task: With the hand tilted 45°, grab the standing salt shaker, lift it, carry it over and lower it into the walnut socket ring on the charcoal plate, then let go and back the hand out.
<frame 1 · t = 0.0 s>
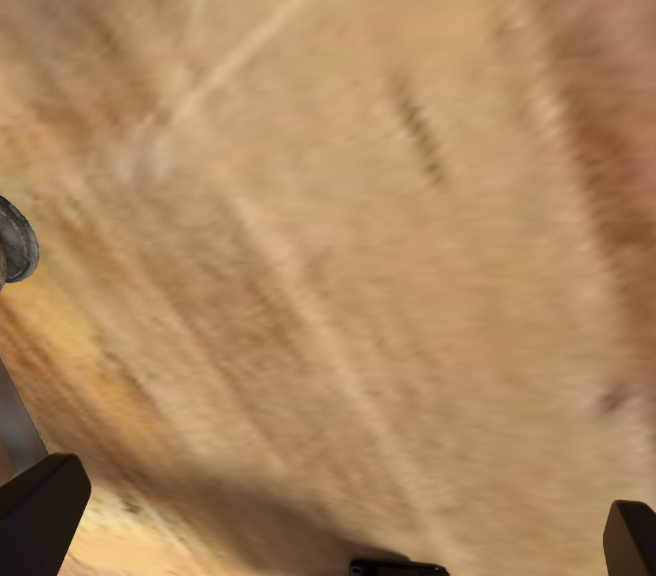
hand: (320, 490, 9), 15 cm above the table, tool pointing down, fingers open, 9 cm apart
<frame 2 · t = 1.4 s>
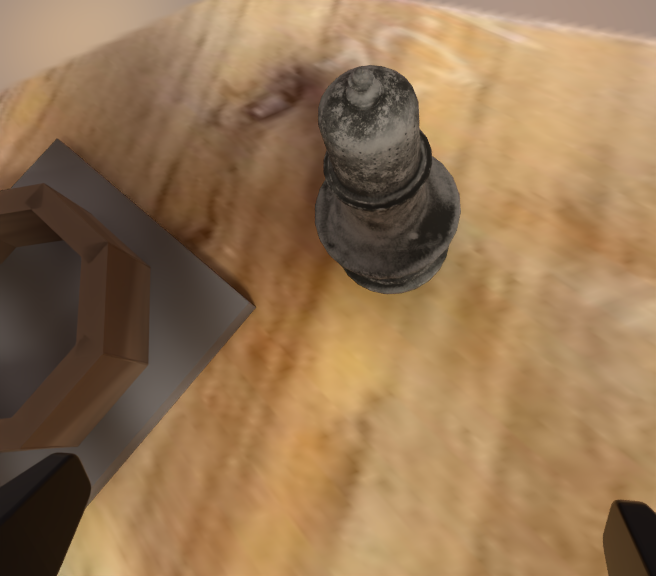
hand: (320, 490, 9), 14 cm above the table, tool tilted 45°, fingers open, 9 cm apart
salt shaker: (391, 241, 24), on the table
socket: (55, 331, 26), on the table
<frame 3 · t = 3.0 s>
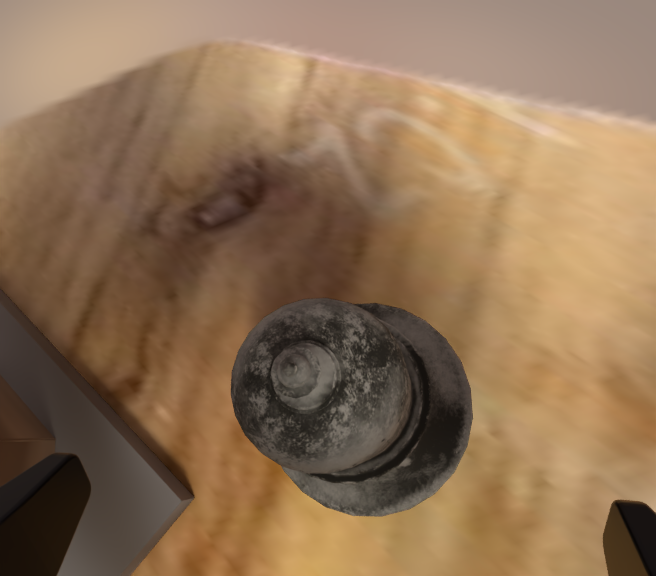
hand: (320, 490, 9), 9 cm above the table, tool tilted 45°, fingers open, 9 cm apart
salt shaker: (377, 409, 18), on the table
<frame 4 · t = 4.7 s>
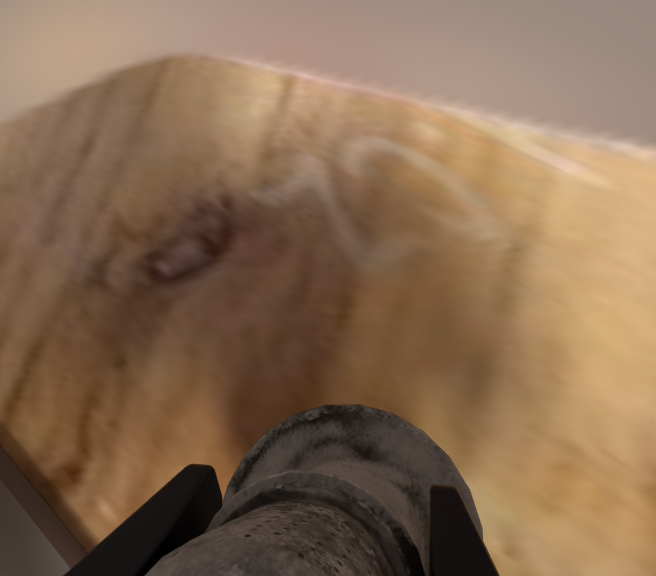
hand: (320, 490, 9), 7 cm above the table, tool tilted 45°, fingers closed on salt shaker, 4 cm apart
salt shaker: (364, 514, 15), on the table, touching gripper
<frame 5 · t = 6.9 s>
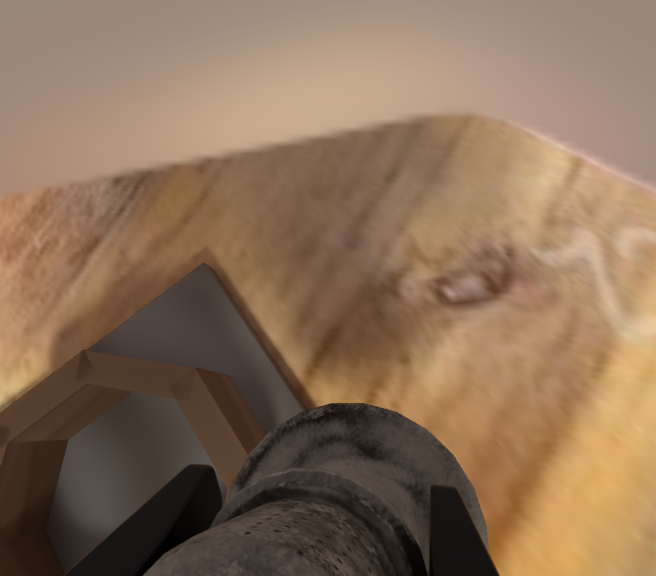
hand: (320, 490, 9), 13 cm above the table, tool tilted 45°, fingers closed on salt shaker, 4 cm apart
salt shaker: (369, 513, 15), point 6 cm above the table, touching gripper
socket: (161, 501, 22), on the table
when the fingers open (8 cm above the table, at t = 9.2 s): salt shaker stays where it is, resting on socket.
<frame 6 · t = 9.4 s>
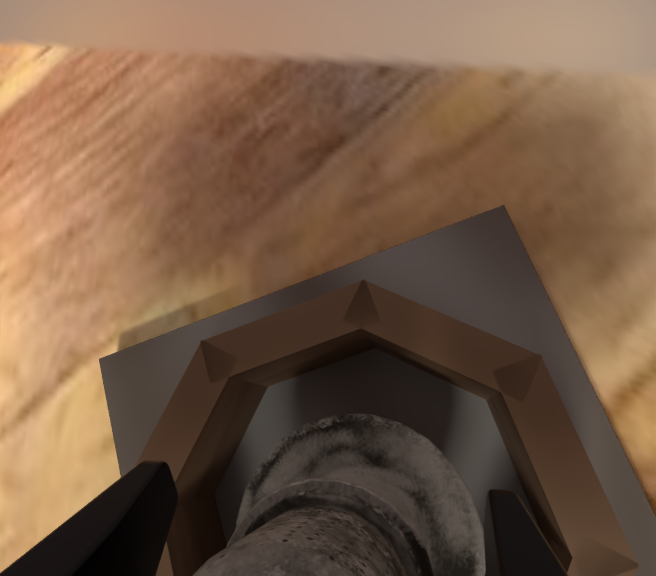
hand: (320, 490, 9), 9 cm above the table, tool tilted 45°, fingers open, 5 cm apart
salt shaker: (371, 515, 16), point 1 cm above the table, touching socket
socket: (370, 505, 16), on the table
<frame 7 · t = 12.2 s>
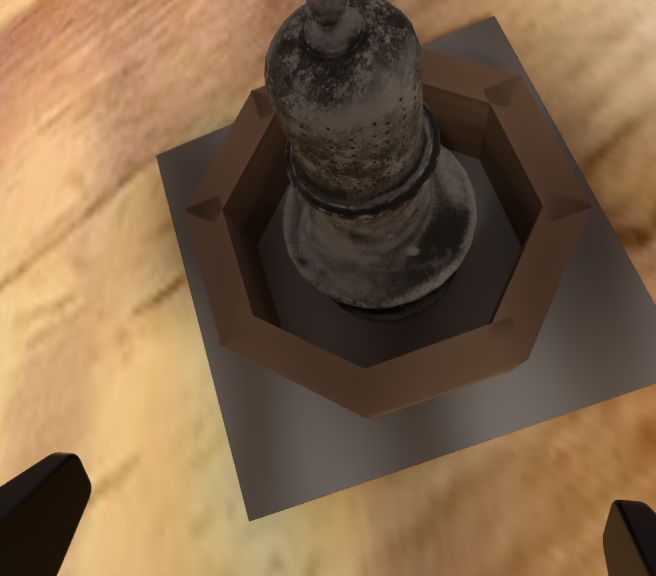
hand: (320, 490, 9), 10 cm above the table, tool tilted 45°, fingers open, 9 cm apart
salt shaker: (385, 253, 19), point 1 cm above the table, touching socket
socket: (384, 255, 20), on the table
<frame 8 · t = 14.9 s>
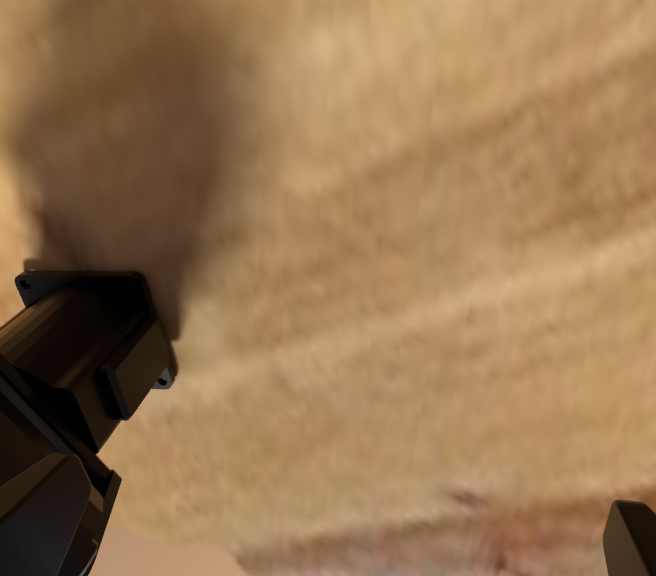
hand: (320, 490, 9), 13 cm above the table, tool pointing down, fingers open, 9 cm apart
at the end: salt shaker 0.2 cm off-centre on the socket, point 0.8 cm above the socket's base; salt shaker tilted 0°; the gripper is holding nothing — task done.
